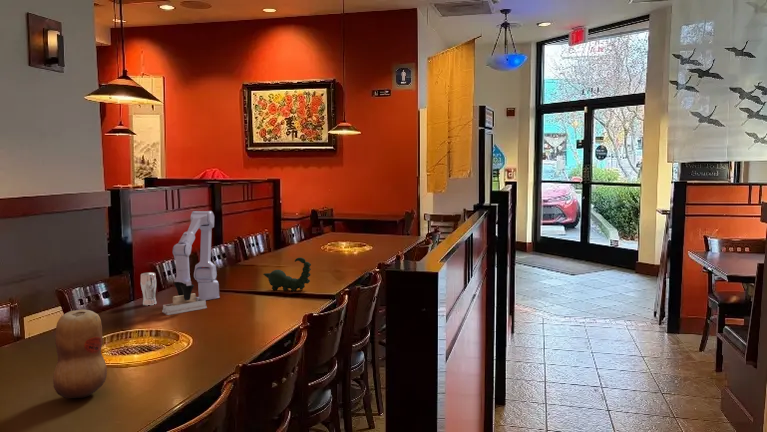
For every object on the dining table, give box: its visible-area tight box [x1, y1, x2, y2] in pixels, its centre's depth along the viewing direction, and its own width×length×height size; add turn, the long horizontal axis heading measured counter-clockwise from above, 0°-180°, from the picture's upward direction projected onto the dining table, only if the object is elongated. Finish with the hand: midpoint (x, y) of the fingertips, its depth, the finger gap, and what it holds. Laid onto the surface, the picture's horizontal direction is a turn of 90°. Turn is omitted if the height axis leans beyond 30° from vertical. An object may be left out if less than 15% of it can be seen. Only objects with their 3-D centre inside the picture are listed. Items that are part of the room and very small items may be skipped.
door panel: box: [172, 292, 197, 305], centre depth 252 cm, size 10×2×6 cm, turn 129°
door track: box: [161, 298, 208, 316], centre depth 252 cm, size 18×7×4 cm, turn 129°
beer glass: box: [140, 271, 157, 307], centre depth 263 cm, size 7×7×15 cm
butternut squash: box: [52, 309, 108, 399], centre depth 157 cm, size 14×13×25 cm
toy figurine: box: [262, 257, 312, 292], centre depth 288 cm, size 9×19×25 cm
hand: (184, 298), depth 252 cm, fingers open, 7 cm apart
